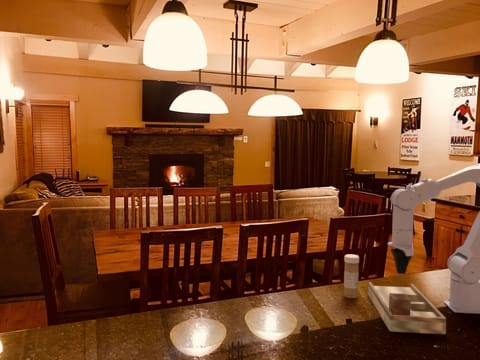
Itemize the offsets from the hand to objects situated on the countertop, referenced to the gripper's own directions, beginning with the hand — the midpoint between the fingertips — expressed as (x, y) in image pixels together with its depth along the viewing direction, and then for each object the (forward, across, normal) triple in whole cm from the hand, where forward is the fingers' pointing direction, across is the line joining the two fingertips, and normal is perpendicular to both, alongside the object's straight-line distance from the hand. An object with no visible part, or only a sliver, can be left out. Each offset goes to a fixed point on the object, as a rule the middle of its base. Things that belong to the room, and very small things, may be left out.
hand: (401, 273), depth 119 cm
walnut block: (+7, +12, -4) cm, 14 cm away
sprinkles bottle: (+10, -7, -14) cm, 18 cm away
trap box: (+10, +4, -1) cm, 11 cm away
